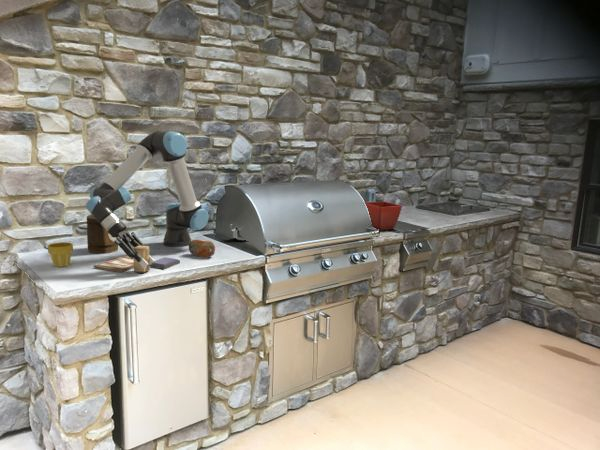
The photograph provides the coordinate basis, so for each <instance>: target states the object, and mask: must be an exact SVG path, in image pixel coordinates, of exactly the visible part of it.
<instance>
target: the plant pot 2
mask: <svg viewBox="0 0 600 450" xmlns="http://www.w3.org/2000/svg"><path fill="white" fill-rule="evenodd" d="M364 203H365V204H366V206H367V208H368V211H369V215H370V218H371V222H372V226H373V227H374V228H376V229H375V230H377V229H379V230H378V231H386V230H387V231H388V230H389V231H390V230H394V228H395V226H396V224H397V223H398V219H399V217H400V215H401V211H402V207H403V206H402V205H400V204H395V203H393V202H388V201H369V202H368V201H367V202H364ZM374 228H373V229H374Z"/></svg>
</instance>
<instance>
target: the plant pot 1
mask: <svg viewBox="0 0 600 450" xmlns="http://www.w3.org/2000/svg"><path fill="white" fill-rule="evenodd" d="M73 251H74V245H73V243H72V242H66V241H64V242H61V241H60V242H54V243H50V244H48V245H47V252H48V254H49V255H50V258H51V262H52V264H53V267H57V268H62V267H63V268H64V267H68V266H70V264H71V257H72V253H73Z"/></svg>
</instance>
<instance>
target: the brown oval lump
mask: <svg viewBox="0 0 600 450" xmlns="http://www.w3.org/2000/svg"><path fill="white" fill-rule="evenodd" d="M188 251H189V253H190V254H191V255H192V256H194V257H200V258H205V259H207V258H211V257H213V256H214V255H215V252H216V246H215V244H214V243H213V242H212V241H211V240H204V239H191V242H190V244H189V245H188Z"/></svg>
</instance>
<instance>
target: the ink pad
mask: <svg viewBox="0 0 600 450" xmlns="http://www.w3.org/2000/svg"><path fill="white" fill-rule="evenodd" d="M180 263H181V260H180V259H178V258H172V257H165V256H164V257H162V258H158V259H156V260H155V261H154V262H153V263H152V264H151V265H150V268H155V269H161V270H166V269H168V268H171V267H173V266H175V265H178V264H180Z"/></svg>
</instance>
